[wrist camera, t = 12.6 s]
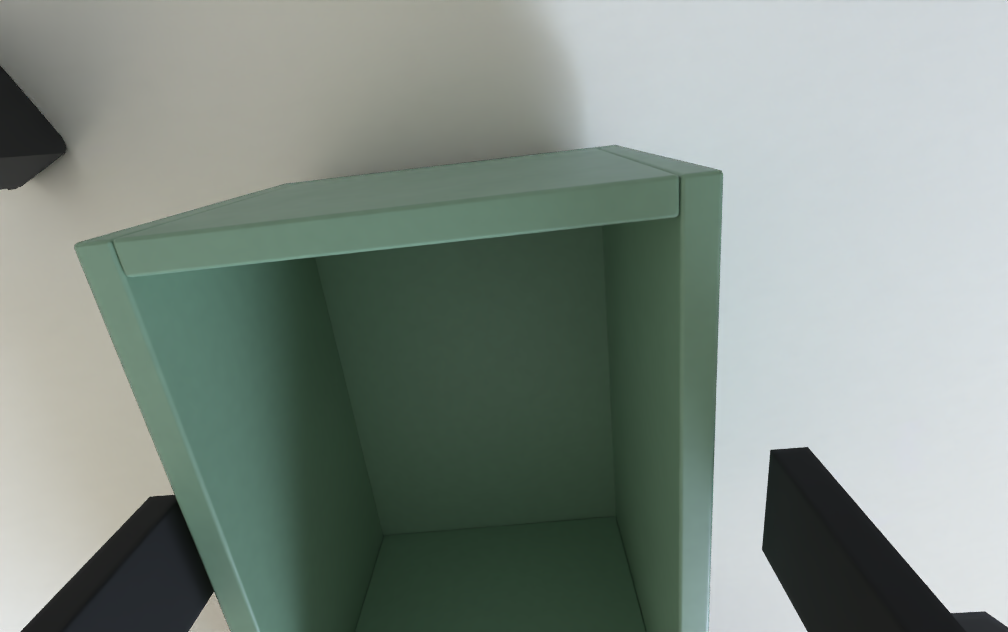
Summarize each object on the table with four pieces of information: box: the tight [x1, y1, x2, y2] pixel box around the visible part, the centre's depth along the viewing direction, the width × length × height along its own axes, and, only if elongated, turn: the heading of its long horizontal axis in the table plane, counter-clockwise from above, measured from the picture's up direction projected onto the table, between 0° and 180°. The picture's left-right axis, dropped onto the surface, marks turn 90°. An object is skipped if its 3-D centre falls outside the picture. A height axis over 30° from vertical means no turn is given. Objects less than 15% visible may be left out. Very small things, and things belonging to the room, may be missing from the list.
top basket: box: [74, 145, 723, 632], centre depth 16 cm, size 11×15×10 cm
